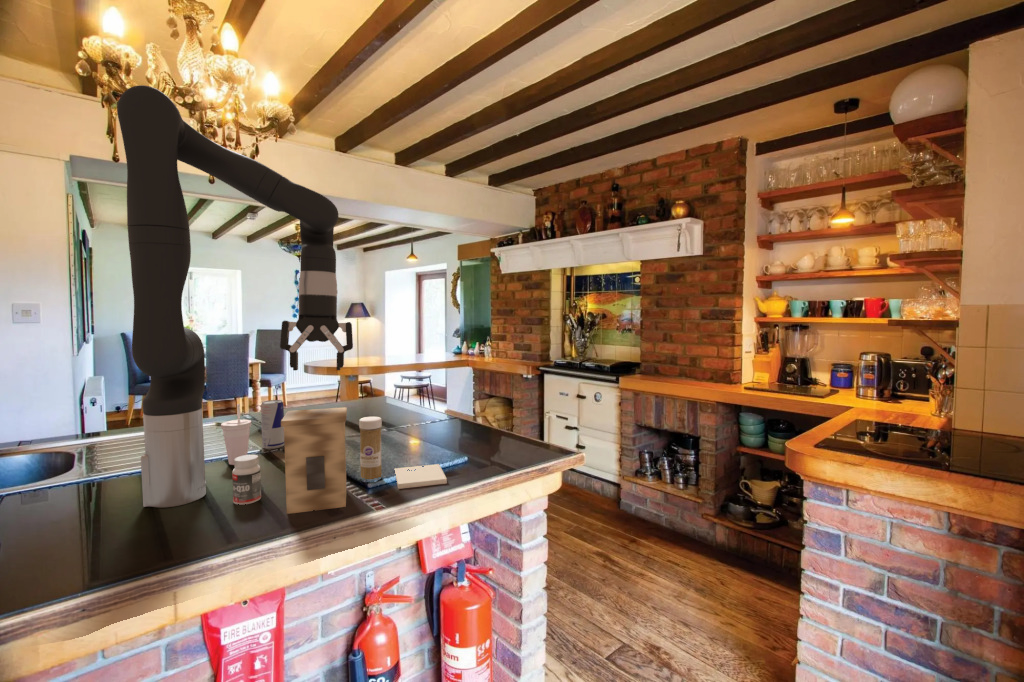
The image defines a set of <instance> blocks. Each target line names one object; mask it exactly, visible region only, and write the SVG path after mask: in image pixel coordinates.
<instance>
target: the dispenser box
mask: <svg viewBox="0 0 1024 682" xmlns="http://www.w3.org/2000/svg"><path fill="white" fill-rule="evenodd" d="M347 408H348V407H347V406H346V407H345V406H344V407H331V408H328V407H326V408H313V409H311V408H310V409H298V410H297V409H296V410H295V409H293V410H287V411H286V413H284V417H283V419H282V420H281V427H284V466H285V467H284V468H285V469H284V470H285V472H284V473H285V474H284V475H285V499H286V515H289V514H296V513H305V512H312V511H313V510H315V511H321V510H329V509H337V508H346V507H347V506H346V505H347V464H346V463H347V459H346V457H347V455H346V454H347V453H346V452H347V451H346V422H347V417H348V416H347V415H348V412H347V411H348V409H347Z"/></svg>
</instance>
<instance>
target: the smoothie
mask: <svg viewBox="0 0 1024 682" xmlns="http://www.w3.org/2000/svg"><path fill="white" fill-rule="evenodd" d="M240 408H241V406H240V403H237V404H236V413H237V419H232V420H228V421H224V422H222V423H220V429H221V430H222V434H223V439H224V443H225V444H224V445H225V449H226V455H227V461H228V464H229V465H230V466H234V459H235V458H237V457H239V456H243V455H249V454H248V453H249V452H248V450H249V441H250V432H251V426H252V420H250V419H241V409H240Z"/></svg>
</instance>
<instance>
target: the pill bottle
mask: <svg viewBox="0 0 1024 682" xmlns="http://www.w3.org/2000/svg"><path fill="white" fill-rule="evenodd" d="M233 466H234V468H233V470H232V473H231V475H232V476H231V477H232V478H231V479H232V502H233V504H235V505H238V504H239V506H240V505H241V506H244V505H245V504H246V505H251V504H253V503H256V502H258V501H260V500H261V498H262V478H261V475H262V473H261V471H262V470H261V466H260V464H259V455H257V454H247V455H243V456H239V457H237V458H235V459H234V465H233ZM246 505H245V506H246Z"/></svg>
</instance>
